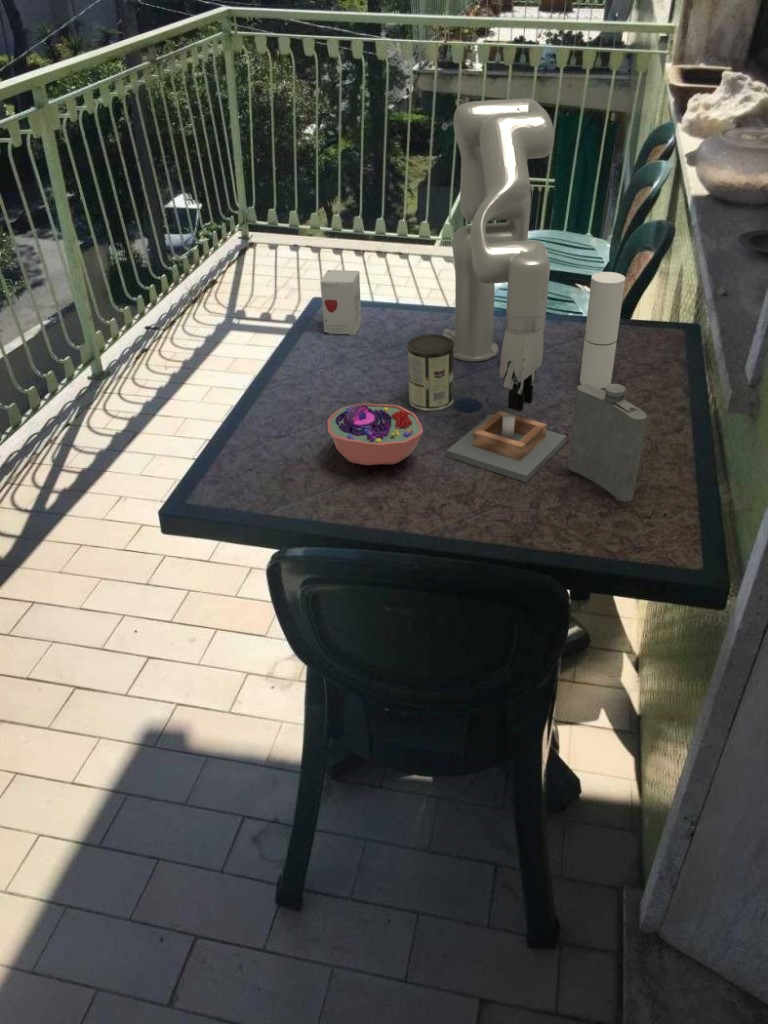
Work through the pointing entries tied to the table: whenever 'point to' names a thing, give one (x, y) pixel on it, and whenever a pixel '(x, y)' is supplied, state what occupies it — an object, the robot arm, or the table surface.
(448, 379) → the coffee can
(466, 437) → the stand
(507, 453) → the ring
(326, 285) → the supplement box
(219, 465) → the table surface
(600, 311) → the cylindrical container
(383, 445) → the cell model
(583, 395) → the hip flask
